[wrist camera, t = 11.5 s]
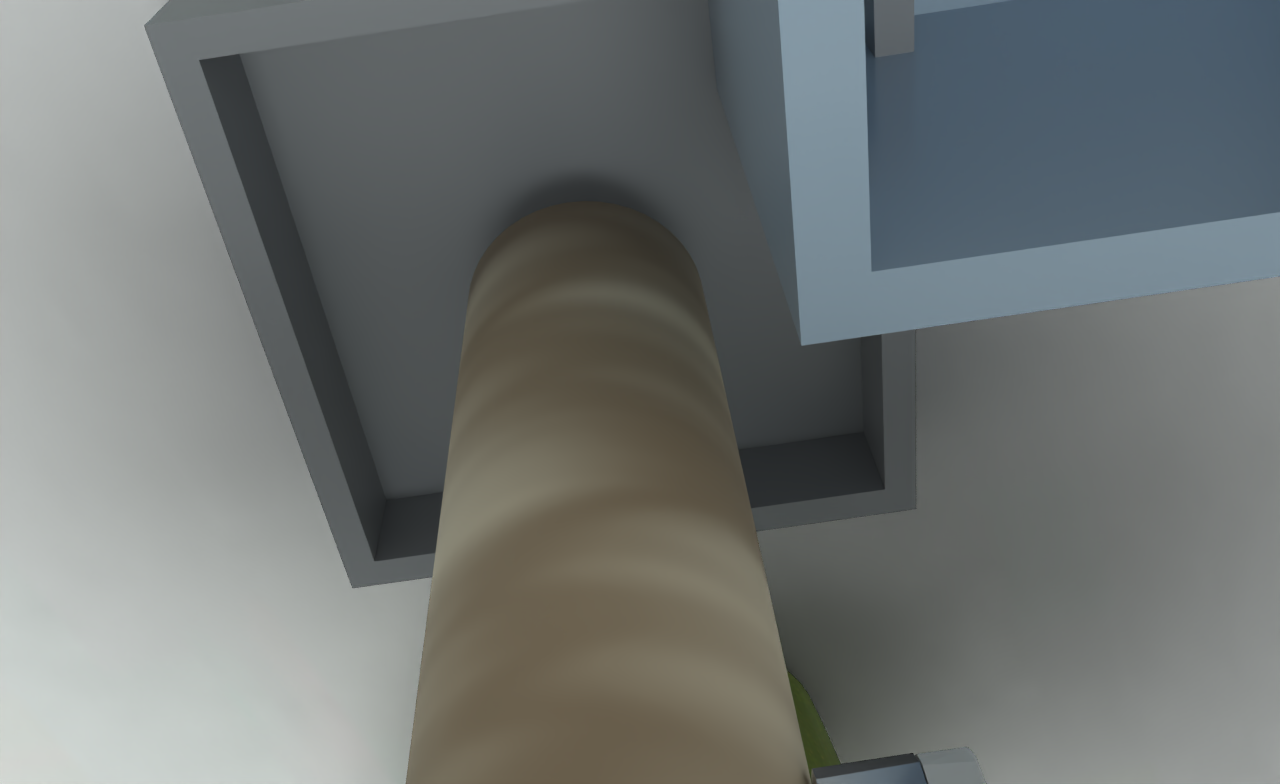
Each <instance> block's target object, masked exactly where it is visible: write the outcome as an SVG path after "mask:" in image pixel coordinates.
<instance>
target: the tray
mask: <svg viewBox="0 0 1280 784" xmlns="http://www.w3.org/2000/svg"><path fill="white" fill-rule="evenodd" d="M864 18H865V44H866V45H867V47H868V48H869V49H870V51H871V52H872V54H873V55H874V57H875V58H876V57H882V56H889V55H895V54H902V53H909V52H914V0H864ZM144 27H145V29H146V32H147V35H148V38H149V40H150V43H151V46H152V48H153V51H154V54H155V56H156V59H157V62H158V65H159V67H160V70H161V73H162V75H163V78H164V81H165V83H166V86H167V89H168V92H169V94H170V97H171V100H172V102H173V105H174V108H175V110H176V113H177V116H178V119H179V121H180V124H181V127H182V129H183V132H184V135H185V137H186V140H187V143H188V146H189V148H190V151H191V154H192V156H193V159H194V162H195V164H196V167H197V170H198V173H199V175H200V178H201V181H202V183H203V186H204V189H205V191H206V194H207V197H208V200H209V202H210V205H211V208H212V210H213V213H214V216H215V218H216V221H217V224H218V227H219V229H220V232H221V235H222V237H223V240H224V243H225V245H226V248H227V251H228V254H229V256H230V259H231V262H232V264H233V267H234V270H235V272H236V275H237V278H238V281H239V283H240V286H241V289H242V291H243V294H244V297H245V299H246V302H247V305H248V308H249V310H250V313H251V316H252V318H253V321H254V324H255V326H256V329H257V332H258V335H259V337H260V340H261V343H262V345H263V348H264V351H265V353H266V356H267V359H268V362H269V364H270V367H271V370H272V372H273V375H274V378H275V380H276V383H277V386H278V389H279V391H280V394H281V397H282V399H283V402H284V405H285V407H286V410H287V413H288V416H289V418H290V421H291V424H292V426H293V429H294V432H295V434H296V437H297V440H298V443H299V445H300V448H301V451H302V453H303V456H304V459H305V461H306V464H307V467H308V470H309V472H310V475H311V478H312V480H313V483H314V486H315V488H316V491H317V494H318V497H319V499H320V502H321V505H322V507H323V510H324V513H325V515H326V518H327V521H328V524H329V526H330V529H331V532H332V534H333V537H334V540H335V542H336V545H337V548H338V551H339V553H340V556H341V559H342V561H343V564H344V567H345V569H346V572H347V575H348V578H349V580H350V583H351V586H352V588H358V587H365V586H372V585H379V584H387V583H394V582H401V581H408V580H415V579H422V578H429V577H432V576H433V568H434V561H435V553H436V545H437V537H438V530H439V522H440V514H441V506H442V499H443V491H444V483H445V475H446V468H447V460H448V452H449V444H450V437H451V429H452V421H453V413H454V406H455V398H456V390H457V383H458V375H459V367H460V359H461V352H462V344H463V336H464V328H465V321H466V313H467V305H468V297H469V290H470V285H471V281H472V278H473V274H474V272H475V269H476V267H477V265H478V263H479V261H480V259H481V257H482V256H483V254H484V253H485V251H486V250H487V248H488V247H489V246H490V245H491V244H492V242H493V241H494V240H495V239H496V238H497V237H498V236H499V235H500V234H501V233H502V232H503V231H505V230H506V229H507V228H508V227H509V226H511V225H512V224H514V223H515V222H517V221H518V220H520V219H521V218H523V217H525V216H527V215H529V214H531V213H533V212H535V211H538V210H541V209H544V208H546V207H549V206H553V205H558V204H562V203H567V202H578V201H596V202H605V203H612V204H617V205H620V206H624V207H627V208H631V209H633V210H636V211H638V212H640V213H643V214H645V215H647V216H649V217H650V218H652V219H654V220H655V221H657V222H659V223H660V224H661V225H663V226H664V227H665V228H666V229H668V230H669V231H670V232H671V233H672V234H673V235H674V236H675V237H676V238H677V239H678V240H679V241H680V242H681V243H682V244H683V246H684V247H685V249H686V250H687V251H688V253H689V254H690V256H691V258H692V260H693V262H694V263H695V265H696V268H697V270H698V273H699V276H700V279H701V283H702V288H703V292H704V297H705V301H706V306H707V310H708V315H709V319H710V324H711V329H712V333H713V338H714V342H715V347H716V351H717V356H718V360H719V365H720V369H721V374H722V379H723V383H724V388H725V392H726V397H727V401H728V406H729V410H730V415H731V419H732V424H733V429H734V433H735V438H736V442H737V447H738V451H739V456H740V460H741V465H742V469H743V474H744V478H745V483H746V488H747V492H748V497H749V501H750V506H751V510H752V515H753V519H754V524H755V528H756V531H763V530H770V529H777V528H784V527H791V526H798V525H806V524H813V523H820V522H827V521H834V520H841V519H848V518H855V517H862V516H870V515H877V514H884V513H891V512H898V511H905V510H912V509H916V334H915V329H913V330H907V331H900V332H893V333H886V334H879V335H872V336H865V337H858V338H851V339H844V340H838V341H831V342H824V343H817V344H810V345H803V346H801V343H800V340H799V337H798V334H797V331H796V328H795V325H794V322H793V319H792V316H791V313H790V310H789V306H788V303H787V300H786V297H785V294H784V291H783V288H782V285H781V282H780V279H779V276H778V273H777V270H776V267H775V264H774V261H773V258H772V255H771V252H770V249H769V246H768V243H767V240H766V237H765V234H764V230H763V227H762V224H761V221H760V218H759V215H758V212H757V209H756V206H755V203H754V200H753V197H752V194H751V191H750V188H749V185H748V182H747V179H746V176H745V173H744V170H743V167H742V164H741V161H740V158H739V154H738V151H737V148H736V145H735V142H734V139H733V136H732V133H731V130H730V127H729V124H728V121H727V118H726V115H725V112H724V109H723V106H722V103H721V100H720V97H719V94H718V91H717V86H716V76H715V66H714V56H713V46H712V36H711V26H710V16H709V6H708V0H169V1H168V2H167V3H166V4H165V5H164V6H163V7H162V8H161V9H160V10H159V11H158V12H157V13H156V14H155V15H154V16H153V17H152V18H151V19H150V20H149V21H148V22H147V23H146V24H145V25H144Z"/></svg>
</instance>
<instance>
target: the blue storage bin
mask: <svg viewBox="0 0 1280 784" xmlns="http://www.w3.org/2000/svg"><path fill="white" fill-rule="evenodd" d="M708 6H709V16H710V26H711V36H712V46H713V56H714V66H715V76H716V86H717V91H718V94H719V97H720V100H721V103H722V106H723V109H724V112H725V115H726V118H727V121H728V124H729V127H730V130H731V133H732V136H733V139H734V142H735V145H736V148H737V151H738V154H739V158H740V161H741V164H742V167H743V170H744V173H745V176H746V179H747V182H748V185H749V188H750V191H751V194H752V197H753V200H754V203H755V206H756V209H757V212H758V215H759V218H760V221H761V224H762V227H763V230H764V234H765V237H766V240H767V243H768V246H769V249H770V252H771V255H772V258H773V261H774V264H775V267H776V270H777V273H778V276H779V279H780V282H781V285H782V288H783V291H784V294H785V297H786V300H787V303H788V306H789V310H790V313H791V316H792V319H793V322H794V325H795V328H796V331H797V334H798V337H799V340H800V343H801V346H803V345H810V344H817V343H824V342H831V341H838V340H844V339H851V338H858V337H865V336H872V335H879V334H886V333H893V332H900V331H907V330H913V329H920V328H927V327H934V326H941V325H948V324H955V323H962V322H969V321H976V320H982V319H989V318H996V317H1003V316H1010V315H1017V314H1024V313H1031V312H1038V311H1045V310H1051V309H1058V308H1065V307H1072V306H1079V305H1086V304H1093V303H1100V302H1107V301H1114V300H1120V299H1127V298H1134V297H1141V296H1148V295H1155V294H1162V293H1169V292H1176V291H1183V290H1189V289H1196V288H1203V287H1210V286H1217V285H1224V284H1231V283H1238V282H1245V281H1252V280H1258V279H1265V278H1272V277H1279V276H1280V0H914V52H909V53H902V54H895V55H889V56H882V57H876V58H875V57H874V55H873V54H872V52H871V51H870V49H869V48H868V47H867V45H866V44H865V18H864V0H708Z"/></svg>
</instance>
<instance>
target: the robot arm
mask: <svg viewBox="0 0 1280 784" xmlns="http://www.w3.org/2000/svg"><path fill="white" fill-rule="evenodd" d="M811 780H812V784H986V781H985V778H984V776H983V773H982V770H981V768H980V765H979V762H978V759H977V757H976V755H975V754H974V753H973V752H972V751H971V750H970V749H969V747H961V748H954V749H948V750H941V751H935V752H928V753H921V754H916V755H914V754H913V753H910V754H903V755H897V756H890V757H884V758H877V759H871V760H864V761H858V762H851V763H845V764H838V765H831V766H825V767H818V768H812V772H811Z"/></svg>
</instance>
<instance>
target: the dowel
mask: <svg viewBox="0 0 1280 784" xmlns="http://www.w3.org/2000/svg"><path fill="white" fill-rule="evenodd" d="M406 784H812V783H811V778H810V774H809V769H808V765H807V760H806V756H805V751H804V747H803V742H802V737H801V733H800V728H799V724H798V719H797V715H796V710H795V706H794V701H793V697H792V692H791V688H790V683H789V678H788V674H787V669H786V665H785V660H784V656H783V651H782V647H781V642H780V638H779V633H778V628H777V624H776V619H775V615H774V610H773V606H772V601H771V597H770V592H769V588H768V583H767V578H766V574H765V569H764V565H763V560H762V556H761V551H760V547H759V542H758V538H757V533H756V528H755V524H754V519H753V515H752V510H751V506H750V501H749V497H748V492H747V488H746V483H745V478H744V474H743V469H742V465H741V460H740V456H739V451H738V447H737V442H736V438H735V433H734V429H733V424H732V419H731V415H730V410H729V406H728V401H727V397H726V392H725V388H724V383H723V379H722V374H721V369H720V365H719V360H718V356H717V351H716V347H715V342H714V338H713V333H712V329H711V324H710V319H709V315H708V310H707V306H706V301H705V297H704V292H703V288H702V283H701V279H700V276H699V273H698V270H697V268H696V265H695V263H694V262H693V260H692V258H691V256H690V254H689V253H688V251H687V250H686V249H685V247H684V246H683V244H682V243H681V242H680V241H679V240H678V239H677V238H676V237H675V236H674V235H673V234H672V233H671V232H670V231H669V230H668V229H666V228H665V227H664V226H663V225H661V224H660V223H659V222H657V221H655V220H654V219H652V218H650V217H649V216H647V215H645V214H643V213H640V212H638V211H636V210H633V209H631V208H627V207H624V206H620V205H617V204H612V203H605V202H596V201H578V202H567V203H562V204H558V205H553V206H549V207H546V208H544V209H541V210H538V211H535V212H533V213H531V214H529V215H527V216H525V217H523V218H521V219H520V220H518V221H517V222H515V223H514V224H512V225H511V226H509V227H508V228H507V229H506V230H505V231H503V232H502V233H501V234H500V235H499V236H498V237H497V238H496V239H495V240H494V241H493V242H492V244H491V245H490V246H489V247H488V248H487V250H486V251H485V253H484V254H483V256H482V257H481V259H480V261H479V263H478V265H477V267H476V269H475V272H474V274H473V278H472V281H471V285H470V290H469V297H468V305H467V313H466V321H465V328H464V336H463V344H462V352H461V359H460V367H459V375H458V383H457V390H456V398H455V406H454V413H453V421H452V429H451V437H450V444H449V452H448V460H447V468H446V475H445V483H444V491H443V499H442V506H441V514H440V522H439V530H438V537H437V545H436V553H435V561H434V568H433V576H432V584H431V592H430V599H429V607H428V615H427V623H426V630H425V638H424V646H423V654H422V661H421V669H420V677H419V685H418V692H417V700H416V708H415V716H414V723H413V731H412V739H411V746H410V754H409V762H408V770H407V777H406Z"/></svg>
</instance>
